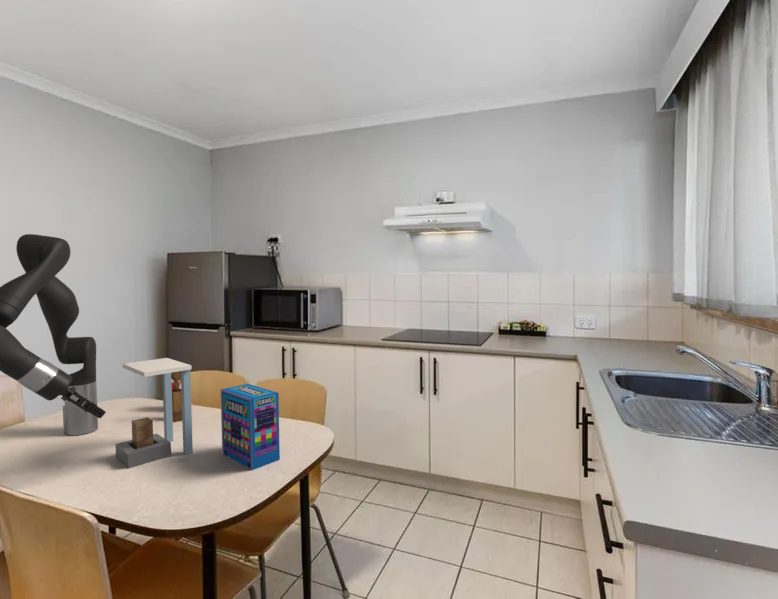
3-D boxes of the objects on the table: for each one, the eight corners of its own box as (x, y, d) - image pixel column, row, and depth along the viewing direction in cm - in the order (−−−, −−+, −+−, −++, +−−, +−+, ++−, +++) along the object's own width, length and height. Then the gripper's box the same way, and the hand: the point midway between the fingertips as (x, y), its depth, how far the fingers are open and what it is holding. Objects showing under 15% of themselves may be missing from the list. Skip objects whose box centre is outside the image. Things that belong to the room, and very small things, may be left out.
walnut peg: (137, 460, 125) (136, 424, 124) (132, 456, 128) (131, 420, 127) (153, 456, 128) (152, 420, 128) (148, 452, 131) (147, 417, 131)
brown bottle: (181, 421, 159) (179, 374, 158) (164, 421, 159) (162, 374, 158) (189, 416, 166) (188, 370, 165) (173, 416, 166) (172, 370, 165)
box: (222, 454, 129) (220, 389, 128) (249, 445, 136) (247, 383, 135) (252, 470, 118) (250, 399, 117) (279, 459, 125) (278, 392, 124)
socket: (128, 468, 120) (127, 454, 120) (115, 457, 128) (115, 443, 127) (171, 455, 128) (170, 442, 128) (157, 445, 136) (156, 433, 136)
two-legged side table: (147, 467, 120) (144, 372, 119) (125, 449, 133) (122, 363, 132) (194, 453, 130) (191, 365, 128) (169, 438, 143) (167, 357, 141)
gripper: (63, 370, 107) (117, 405, 116) (51, 363, 117) (102, 396, 126) (37, 396, 103) (94, 429, 113) (27, 386, 113) (81, 418, 122)
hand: (98, 412), depth 119 cm, fingers open, 8 cm apart
